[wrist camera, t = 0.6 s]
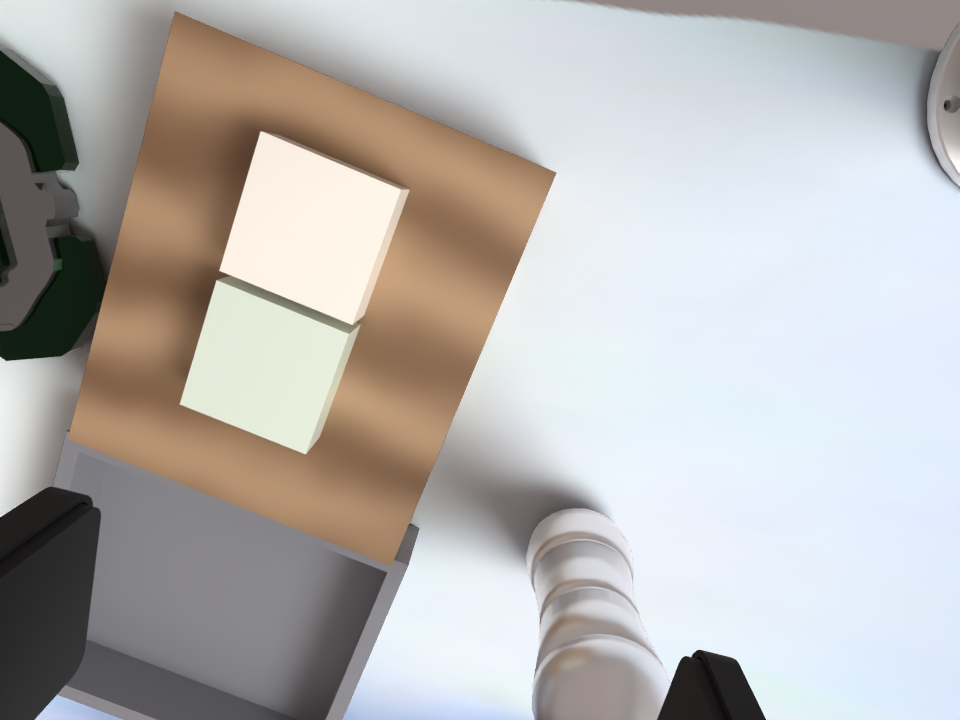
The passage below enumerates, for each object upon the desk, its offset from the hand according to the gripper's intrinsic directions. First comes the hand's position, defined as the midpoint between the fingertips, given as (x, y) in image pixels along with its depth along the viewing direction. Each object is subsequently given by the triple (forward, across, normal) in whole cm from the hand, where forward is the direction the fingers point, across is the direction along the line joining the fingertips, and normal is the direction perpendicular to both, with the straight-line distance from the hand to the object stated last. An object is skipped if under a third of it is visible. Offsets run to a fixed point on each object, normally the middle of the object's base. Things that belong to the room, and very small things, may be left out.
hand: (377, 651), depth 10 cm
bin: (+32, +12, +24) cm, 42 cm away
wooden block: (+32, +9, +2) cm, 33 cm away
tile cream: (+26, +9, -3) cm, 27 cm away
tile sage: (+26, +10, +4) cm, 28 cm away
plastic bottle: (+32, -10, +14) cm, 36 cm away
